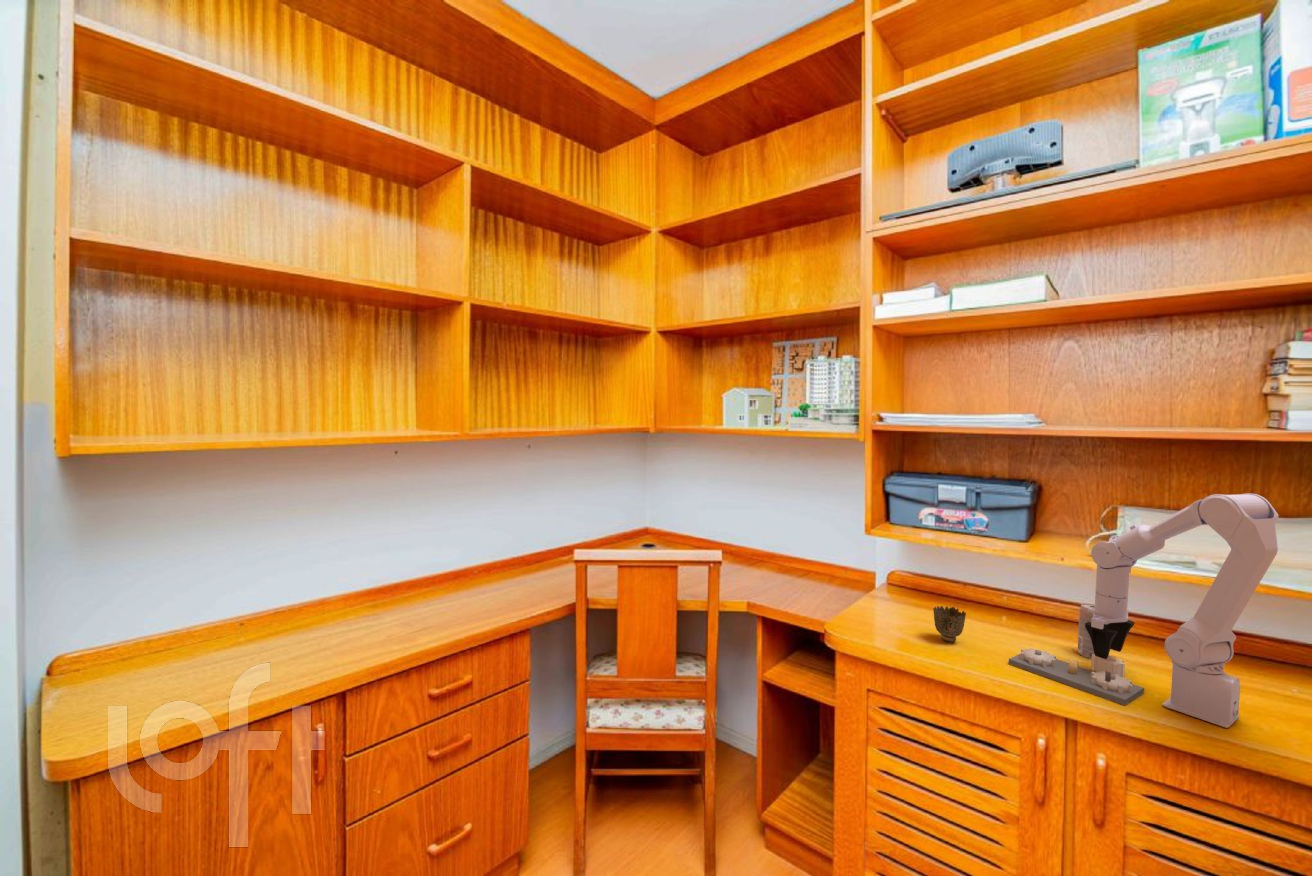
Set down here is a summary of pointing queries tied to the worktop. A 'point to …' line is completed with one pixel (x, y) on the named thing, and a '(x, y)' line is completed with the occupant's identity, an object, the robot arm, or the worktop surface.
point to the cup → (949, 622)
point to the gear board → (1078, 676)
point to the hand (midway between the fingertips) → (1108, 653)
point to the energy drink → (1085, 631)
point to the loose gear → (1108, 665)
